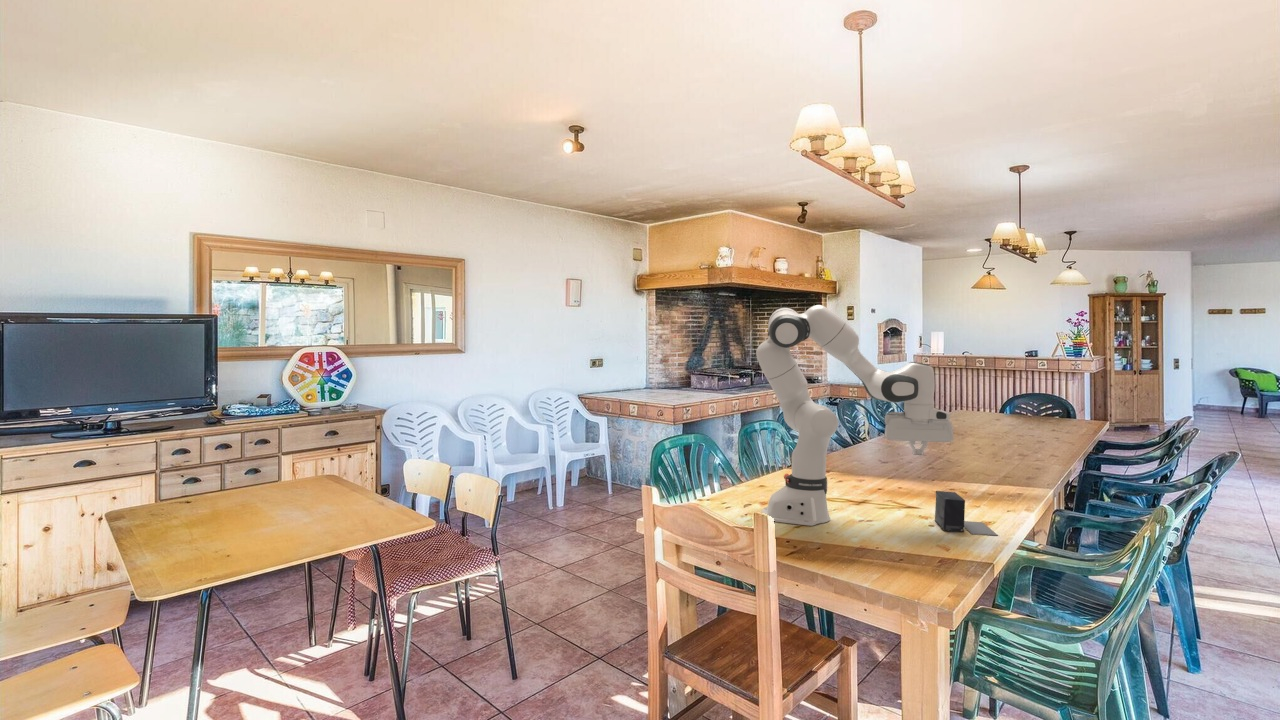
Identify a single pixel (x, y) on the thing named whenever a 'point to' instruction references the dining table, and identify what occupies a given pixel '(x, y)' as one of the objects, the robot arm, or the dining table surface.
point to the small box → (949, 511)
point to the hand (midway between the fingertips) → (917, 454)
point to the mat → (978, 528)
